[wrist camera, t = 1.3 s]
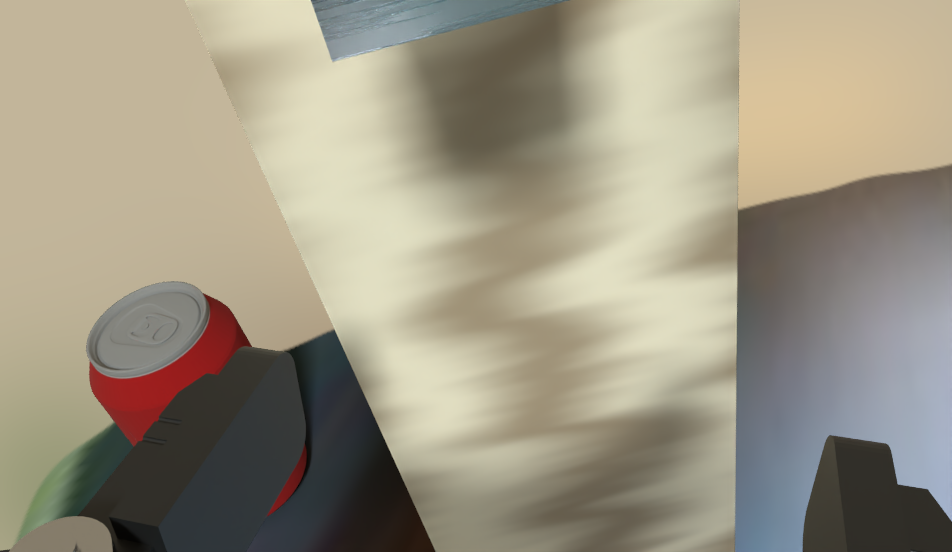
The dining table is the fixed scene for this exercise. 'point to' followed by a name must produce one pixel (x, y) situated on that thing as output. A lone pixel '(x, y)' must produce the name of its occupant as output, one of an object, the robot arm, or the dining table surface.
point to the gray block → (404, 20)
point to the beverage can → (162, 356)
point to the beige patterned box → (521, 256)
